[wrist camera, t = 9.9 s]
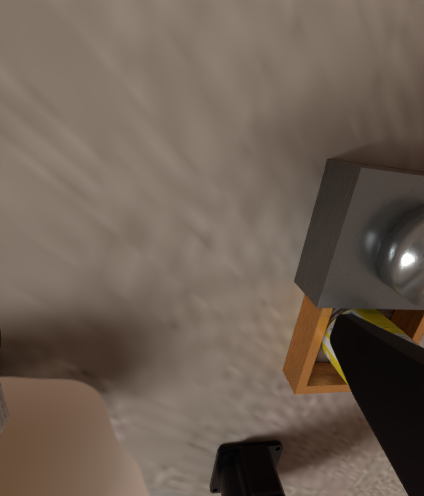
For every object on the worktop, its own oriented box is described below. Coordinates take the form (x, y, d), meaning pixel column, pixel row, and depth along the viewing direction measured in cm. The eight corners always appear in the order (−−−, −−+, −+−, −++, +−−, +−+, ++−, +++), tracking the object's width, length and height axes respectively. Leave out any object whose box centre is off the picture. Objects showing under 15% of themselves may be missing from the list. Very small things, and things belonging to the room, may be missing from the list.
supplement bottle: (361, 352, 28) (467, 471, 18) (306, 351, 26) (390, 479, 17) (385, 299, 25) (518, 403, 16) (326, 295, 24) (434, 406, 15)
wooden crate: (387, 367, 29) (436, 419, 24) (269, 370, 26) (297, 430, 21) (474, 179, 22) (566, 197, 17) (327, 159, 20) (386, 174, 15)
